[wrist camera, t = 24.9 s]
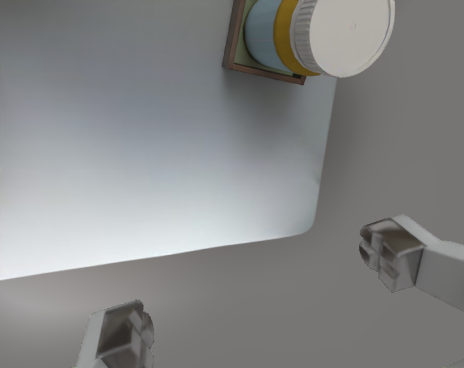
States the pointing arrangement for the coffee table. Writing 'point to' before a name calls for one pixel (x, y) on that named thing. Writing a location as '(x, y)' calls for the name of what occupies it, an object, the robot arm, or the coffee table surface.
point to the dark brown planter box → (239, 55)
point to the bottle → (318, 34)
